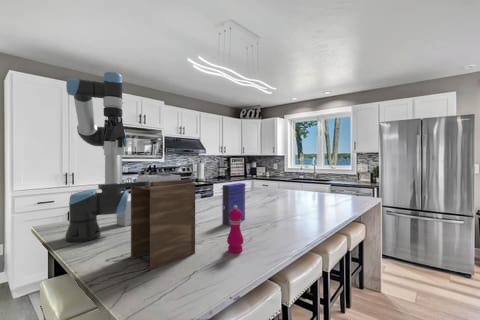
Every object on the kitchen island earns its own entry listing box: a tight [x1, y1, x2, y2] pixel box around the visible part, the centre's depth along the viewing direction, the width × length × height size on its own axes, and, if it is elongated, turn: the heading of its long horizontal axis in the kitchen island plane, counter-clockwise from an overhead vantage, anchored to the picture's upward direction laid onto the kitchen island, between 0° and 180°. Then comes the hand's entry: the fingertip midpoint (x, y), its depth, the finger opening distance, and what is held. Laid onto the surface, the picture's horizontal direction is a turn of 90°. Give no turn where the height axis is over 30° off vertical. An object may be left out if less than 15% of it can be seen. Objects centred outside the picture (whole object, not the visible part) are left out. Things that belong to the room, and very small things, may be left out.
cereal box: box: [221, 182, 246, 226], centre depth 156 cm, size 17×5×24 cm, turn 144°
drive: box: [98, 172, 182, 191], centre depth 96 cm, size 10×30×4 cm, turn 138°
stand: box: [130, 178, 196, 270], centre depth 103 cm, size 17×20×32 cm
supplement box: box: [116, 197, 131, 227], centre depth 150 cm, size 9×9×15 cm
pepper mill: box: [226, 205, 244, 254], centre depth 109 cm, size 7×7×20 cm
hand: (113, 155), depth 111 cm, fingers open, 13 cm apart
